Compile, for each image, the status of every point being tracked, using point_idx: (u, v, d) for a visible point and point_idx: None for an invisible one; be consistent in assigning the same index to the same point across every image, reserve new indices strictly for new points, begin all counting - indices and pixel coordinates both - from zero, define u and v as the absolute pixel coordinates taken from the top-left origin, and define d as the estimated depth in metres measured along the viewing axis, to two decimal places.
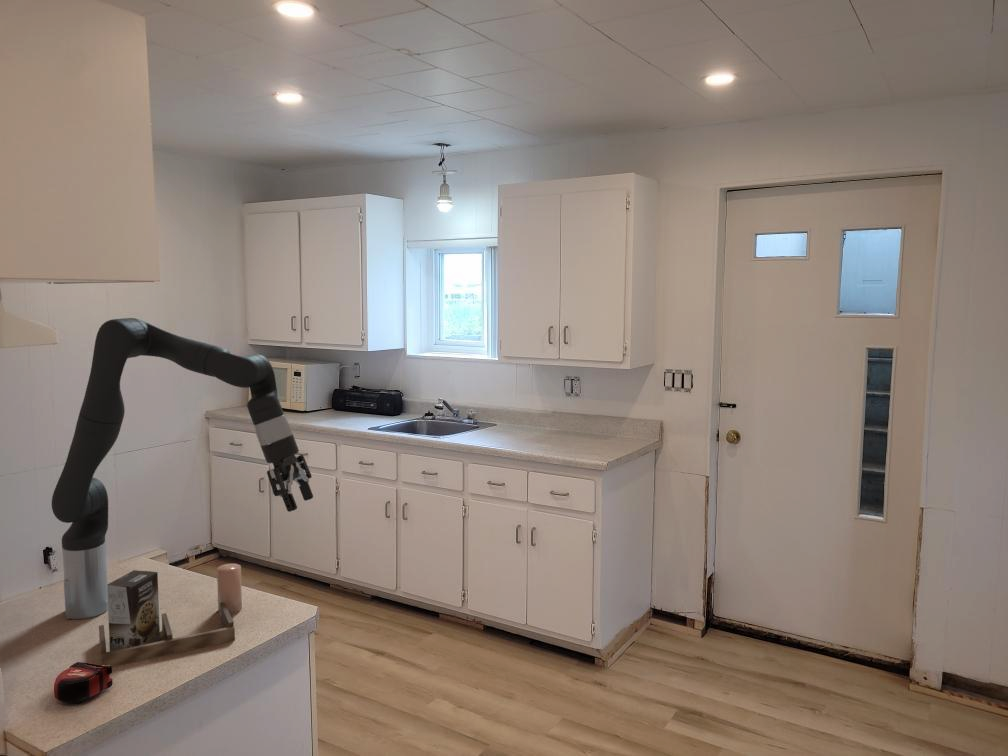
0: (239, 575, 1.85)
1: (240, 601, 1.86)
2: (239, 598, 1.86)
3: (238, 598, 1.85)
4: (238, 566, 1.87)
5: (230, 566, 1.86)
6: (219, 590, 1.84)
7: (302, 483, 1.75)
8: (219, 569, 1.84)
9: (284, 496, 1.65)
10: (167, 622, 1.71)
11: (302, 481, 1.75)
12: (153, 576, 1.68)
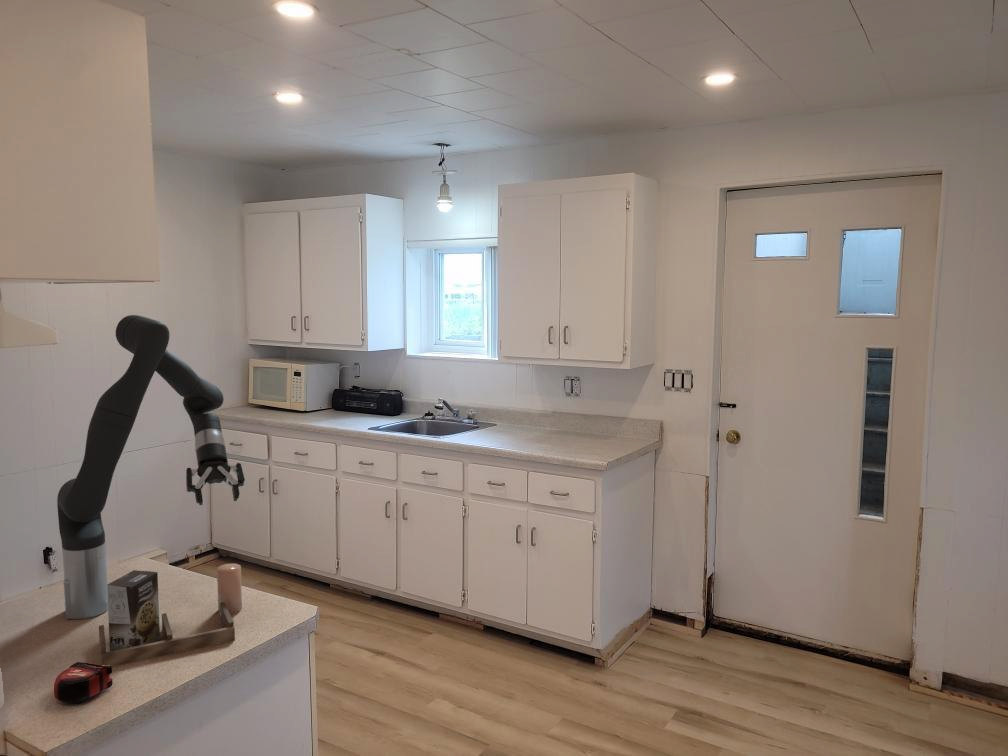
0: (239, 575, 1.85)
1: (240, 601, 1.86)
2: (239, 598, 1.86)
3: (238, 598, 1.85)
4: (238, 566, 1.87)
5: (230, 566, 1.86)
6: (219, 590, 1.84)
7: None
8: (219, 569, 1.84)
9: (238, 486, 1.99)
10: (167, 622, 1.71)
11: None
12: (153, 576, 1.68)
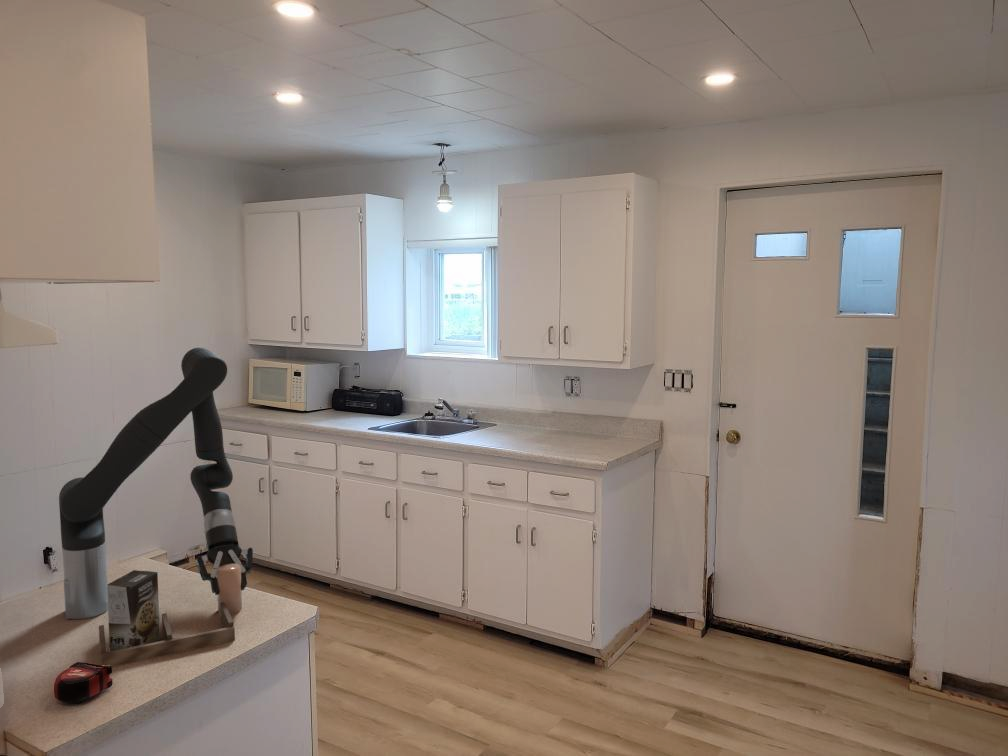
0: (239, 575, 1.85)
1: (240, 601, 1.86)
2: (239, 598, 1.86)
3: (238, 598, 1.85)
4: (238, 566, 1.86)
5: (230, 566, 1.86)
6: (219, 590, 1.84)
7: (215, 578, 1.86)
8: (219, 569, 1.84)
9: None
10: (167, 622, 1.71)
11: None
12: (153, 576, 1.68)
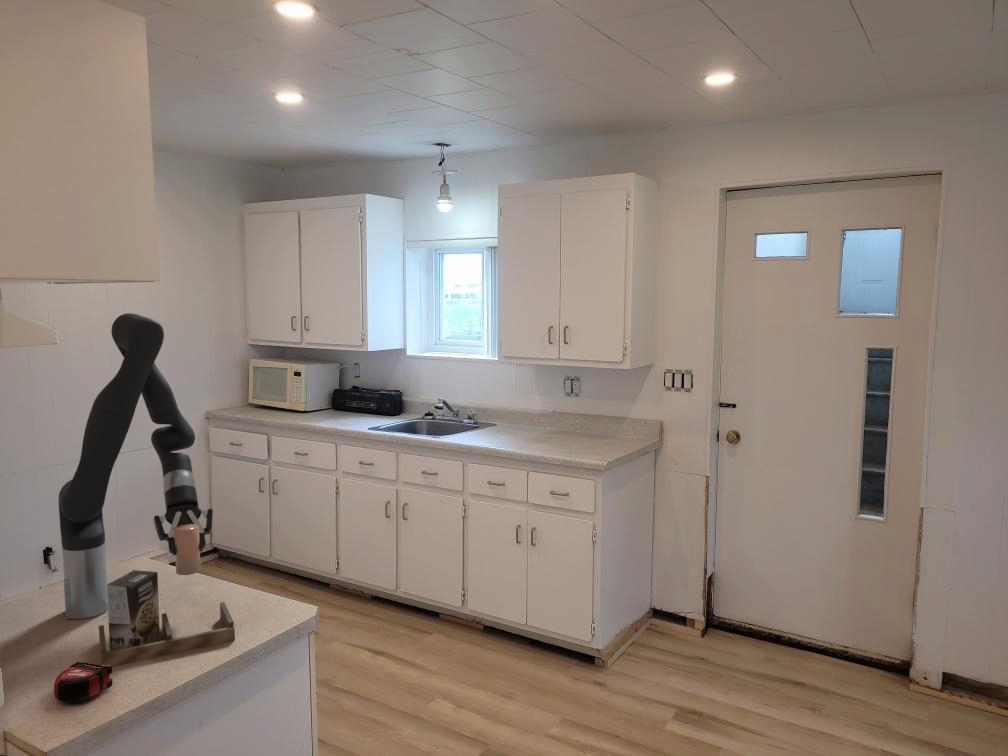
0: (197, 535, 1.82)
1: (198, 562, 1.83)
2: (197, 559, 1.82)
3: (196, 558, 1.82)
4: (196, 526, 1.83)
5: (188, 527, 1.83)
6: (176, 550, 1.81)
7: None
8: (176, 529, 1.81)
9: None
10: (167, 622, 1.71)
11: None
12: (153, 576, 1.68)
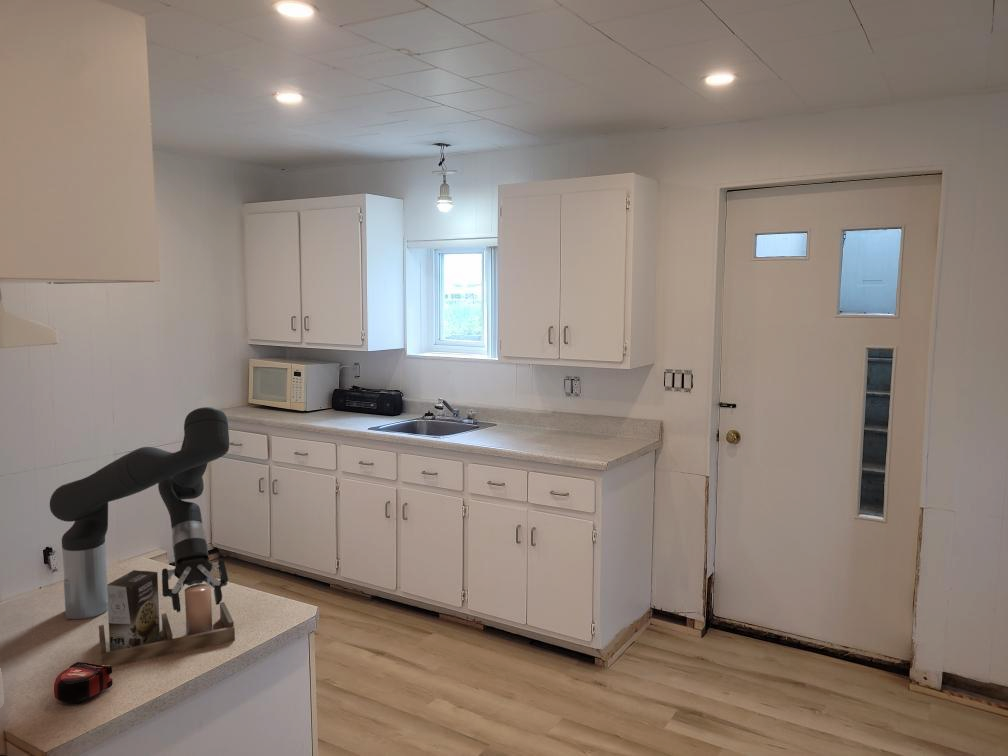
0: (209, 597, 1.73)
1: (210, 625, 1.74)
2: (209, 621, 1.73)
3: (208, 621, 1.73)
4: (208, 587, 1.74)
5: (199, 588, 1.73)
6: (187, 613, 1.71)
7: None
8: (187, 590, 1.72)
9: (220, 587, 1.77)
10: (167, 622, 1.71)
11: None
12: (153, 576, 1.68)
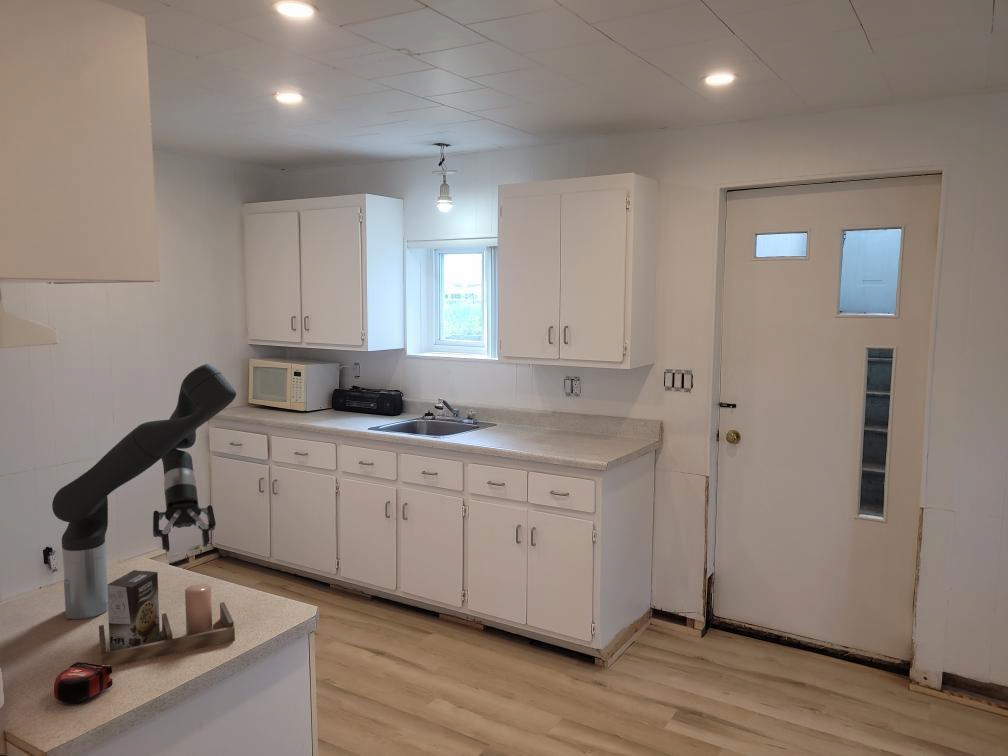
0: (209, 597, 1.73)
1: (210, 625, 1.74)
2: (209, 621, 1.73)
3: (208, 621, 1.73)
4: (208, 587, 1.74)
5: (199, 587, 1.73)
6: (187, 613, 1.71)
7: None
8: (187, 590, 1.72)
9: None
10: (167, 622, 1.71)
11: None
12: (153, 576, 1.68)
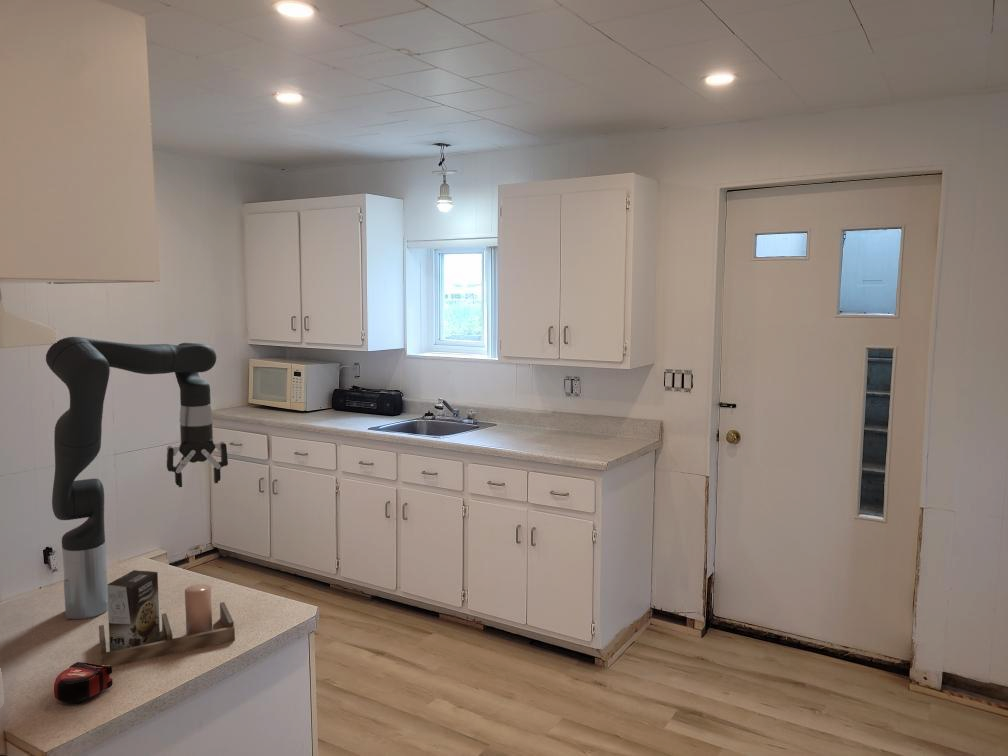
0: (209, 597, 1.73)
1: (210, 625, 1.74)
2: (209, 621, 1.73)
3: (208, 621, 1.73)
4: (208, 587, 1.74)
5: (199, 588, 1.73)
6: (187, 613, 1.71)
7: None
8: (187, 591, 1.72)
9: None
10: (167, 622, 1.71)
11: None
12: (153, 576, 1.68)
